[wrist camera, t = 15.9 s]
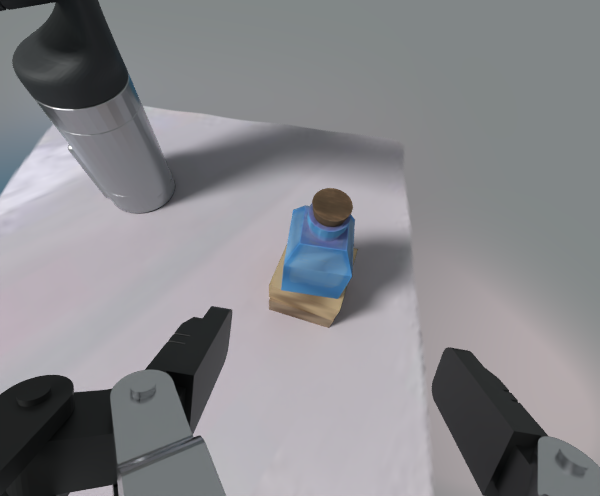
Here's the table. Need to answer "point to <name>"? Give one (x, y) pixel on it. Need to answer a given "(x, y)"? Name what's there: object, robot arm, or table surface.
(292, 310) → the tower bottom block
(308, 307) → the tower top block
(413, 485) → the table surface
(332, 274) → the perfume bottle
